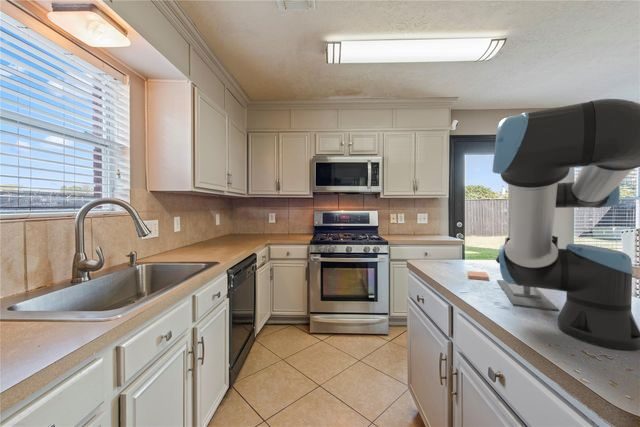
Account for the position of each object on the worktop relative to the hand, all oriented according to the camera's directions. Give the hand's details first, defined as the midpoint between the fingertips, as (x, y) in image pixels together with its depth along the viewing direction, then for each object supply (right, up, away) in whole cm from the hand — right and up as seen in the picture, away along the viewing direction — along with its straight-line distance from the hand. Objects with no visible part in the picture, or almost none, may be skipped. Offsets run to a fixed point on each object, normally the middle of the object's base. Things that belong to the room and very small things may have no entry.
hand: (529, 284), depth 91 cm
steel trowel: (+3, -5, +7) cm, 9 cm away
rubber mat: (+4, -6, +8) cm, 10 cm away
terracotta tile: (-1, -5, +27) cm, 27 cm away
